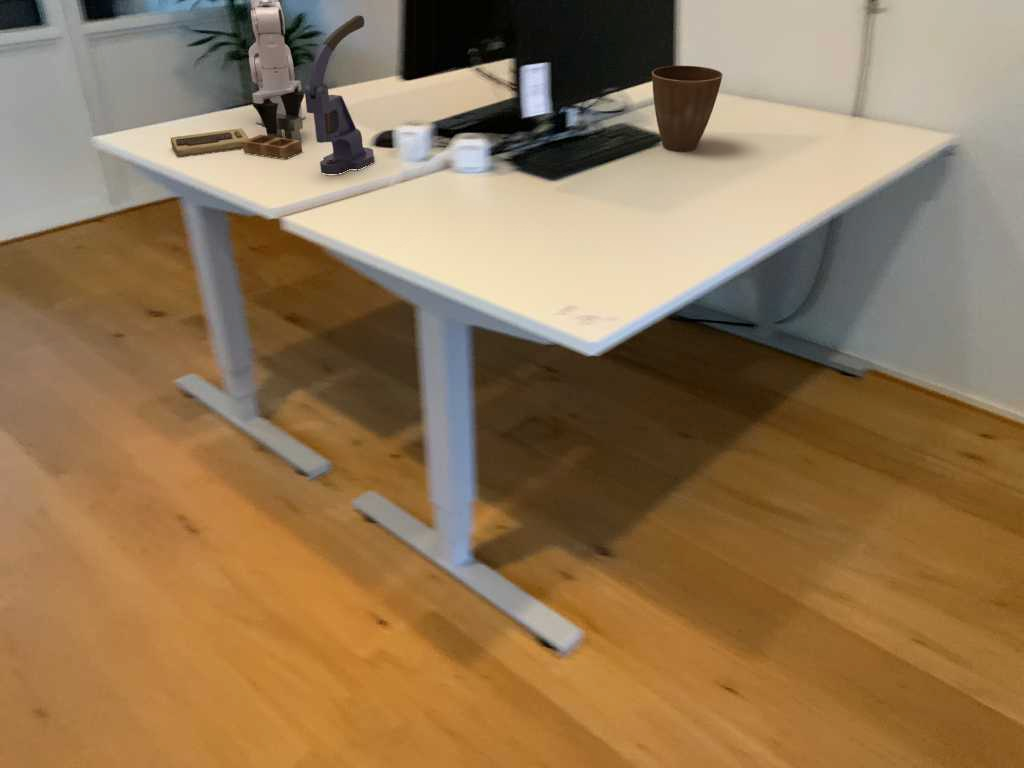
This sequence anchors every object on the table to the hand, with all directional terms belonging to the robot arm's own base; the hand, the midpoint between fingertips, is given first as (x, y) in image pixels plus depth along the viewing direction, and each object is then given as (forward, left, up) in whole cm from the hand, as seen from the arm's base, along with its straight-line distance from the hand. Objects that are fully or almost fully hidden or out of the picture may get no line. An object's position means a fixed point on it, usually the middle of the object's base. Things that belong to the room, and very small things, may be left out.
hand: (282, 129), depth 193 cm
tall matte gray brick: (0, 0, -3) cm, 3 cm away
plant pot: (-34, +83, -3) cm, 90 cm away
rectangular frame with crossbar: (+8, +4, -3) cm, 10 cm away
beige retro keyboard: (+11, -11, -3) cm, 16 cm away
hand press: (+8, +23, -3) cm, 25 cm away
